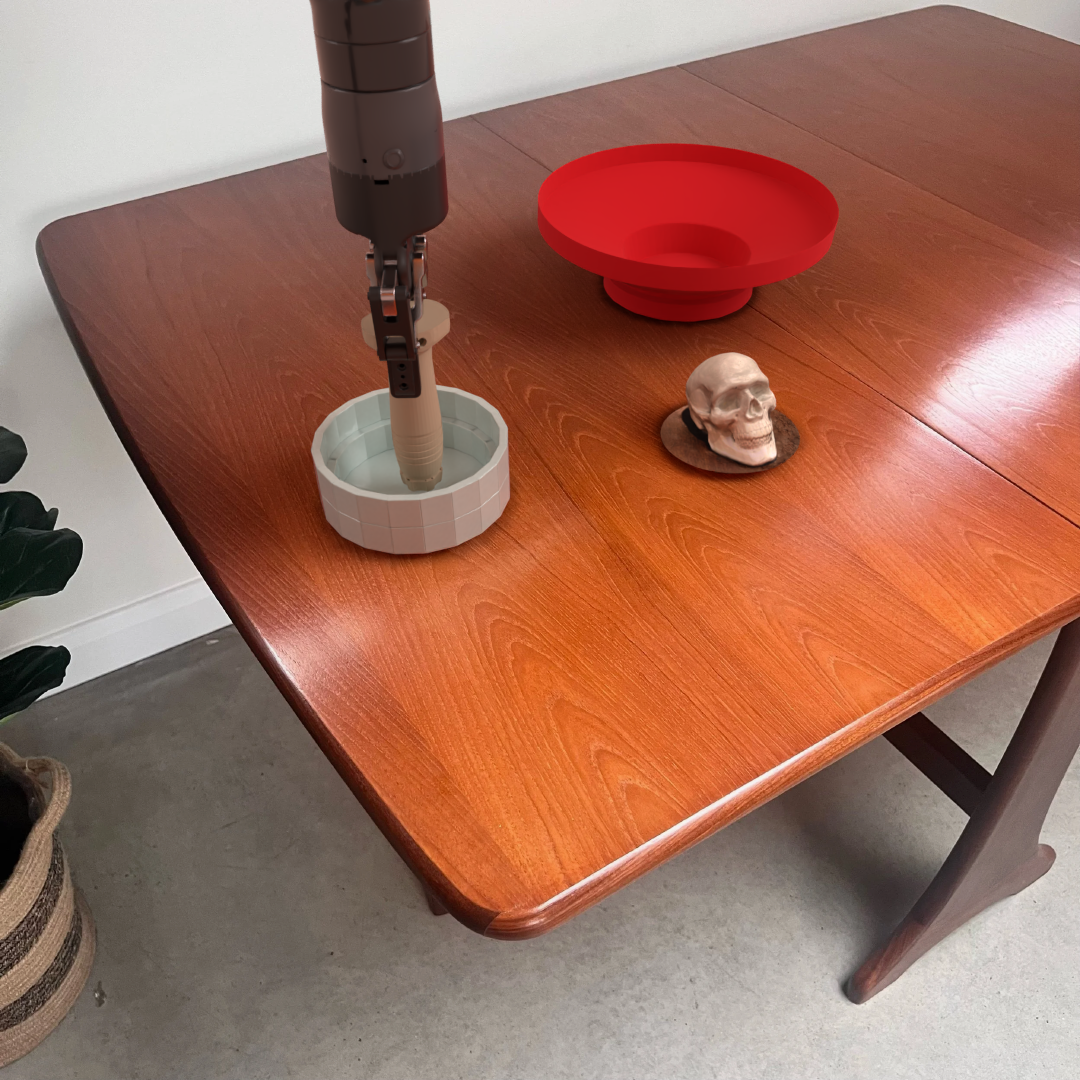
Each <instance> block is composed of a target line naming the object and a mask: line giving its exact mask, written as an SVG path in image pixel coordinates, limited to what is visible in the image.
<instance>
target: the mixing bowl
mask: <svg viewBox="0 0 1080 1080" xmlns="http://www.w3.org/2000/svg"><path fill="white" fill-rule="evenodd" d="M436 389H437V395H438V401H439V407H440V413H441V419H442V430H443V457H442V465H441V467H442V468H443V472H442V480H441V481H440V482H438V483H437V484H436V485H435V488H434V489H433V490H431V491H428V492H427V491H414V492H413V491H411V490H409V489H408V486H407V485H406V484H404V483H403V482H402V479H401V475H400V467H399V464H398V462H397V458H396V454H395V450H394V445H393V439H392V431H391V421H390V399H389V387H385V388H380V389H374V390H372V391H369V392H366V393H364V394H362V395H359V396H357V397H355V398H351V399H349V400H347V401H346V402H345V403H343V404H342V405H341V406H338V408H336V409H335V410H333V411H331V412H330V413H329V414H328V415H327V416H326V417H325V419H324V420H323V421H322V422H321V424H320V425H319V426H318V427H317V429H316V430H315V432H314V436H313V440H312V443H311V447H310V453H311V458H312V462H313V468H314V473H315V477H316V483H317V488H318V493H319V498H320V503H321V506H322V510H323V513H324V516H325V520H326V521H327V522H328V524H330V526H331V527H332V528H333V529H334V530H335V531H336V532H337V533H338V534H339V536H341V537H342V538H344V539H346V540H348V541H349V542H352V543H354V544H356V545H358V546H360V547H362V548H364V549H366V550H372V551H377V552H382V553H387V554H394V555H413V554H417V555H418V554H429V553H433V552H434V553H435V552H438V551H441V550H446V549H450V548H454V547H457V546H459V545H462V544H463V543H466V542H468V541H469V540H472V539H474V538H475V537H478V536H479V535H481V534H483V533H484V532H485V531H486V530H487V529H488V528H489V527H490V526H492V525H493V524H494V523H495V522H496V521H497V520H499V518H501V516H502V515H503V512H504V511H505V508H506V507H507V504H508V502H509V501H510V499H511V474H510V473H511V470H510V451H509V427H508V425H507V423H506V421H505V420H504V418H503V416H502V415H501V413H500V411H499V410H498V409H497V408H496V407H495V406H493V405H492V404H491V403H489V402H488V401H487V400H486V399H484V398H483V397H480V396H478V395H476V394H473V393H471V392H468V391H465V390H463V389H461V388H457V387H454V386H453V387H451V386H446V385H439V384H436Z"/></svg>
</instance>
